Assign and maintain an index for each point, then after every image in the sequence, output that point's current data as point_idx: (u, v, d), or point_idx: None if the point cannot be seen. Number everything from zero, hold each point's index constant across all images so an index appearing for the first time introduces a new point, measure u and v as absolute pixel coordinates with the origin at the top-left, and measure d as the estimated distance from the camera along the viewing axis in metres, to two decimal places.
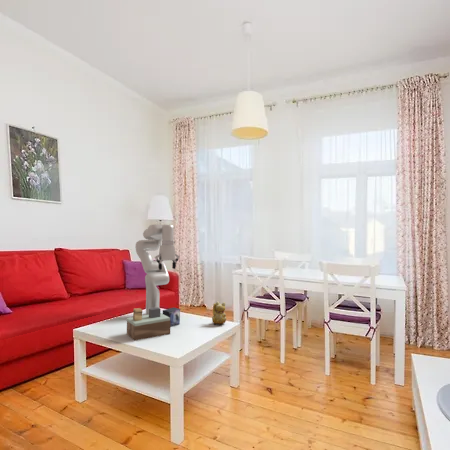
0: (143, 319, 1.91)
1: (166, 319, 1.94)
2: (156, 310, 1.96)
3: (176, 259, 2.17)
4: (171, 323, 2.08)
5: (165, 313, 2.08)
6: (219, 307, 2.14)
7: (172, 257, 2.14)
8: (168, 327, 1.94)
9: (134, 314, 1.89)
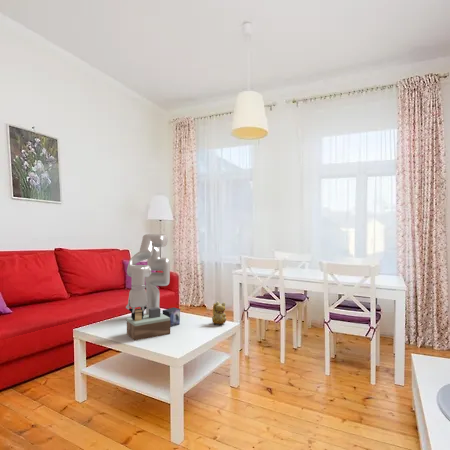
0: (143, 319, 1.91)
1: (166, 319, 1.94)
2: (156, 310, 1.96)
3: (144, 307, 1.92)
4: (171, 323, 2.08)
5: (165, 313, 2.08)
6: (219, 307, 2.14)
7: (143, 303, 1.90)
8: (168, 327, 1.94)
9: None
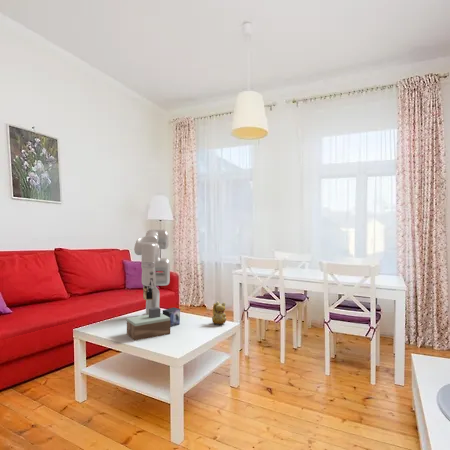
0: (143, 319, 1.91)
1: (166, 319, 1.94)
2: (156, 310, 1.96)
3: (149, 288, 1.77)
4: (171, 323, 2.08)
5: (165, 313, 2.08)
6: (219, 307, 2.14)
7: (146, 283, 1.77)
8: (168, 327, 1.94)
9: None
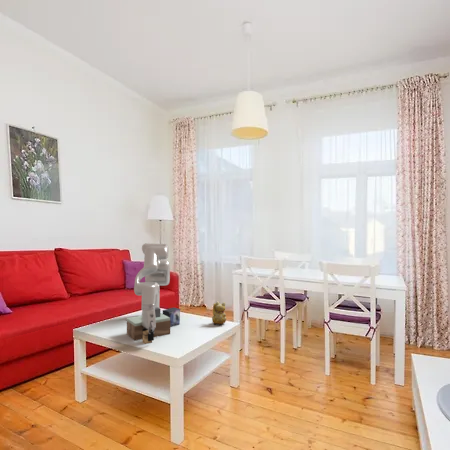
0: None
1: (166, 319, 1.94)
2: (156, 310, 1.96)
3: (150, 330, 1.74)
4: (171, 323, 2.08)
5: (165, 313, 2.08)
6: (219, 307, 2.14)
7: (146, 325, 1.76)
8: (168, 327, 1.94)
9: None
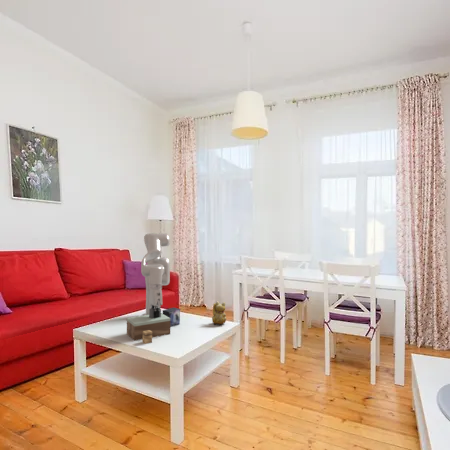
0: (143, 319, 1.91)
1: (166, 319, 1.93)
2: None
3: (156, 307, 1.93)
4: (171, 323, 2.08)
5: (165, 313, 2.08)
6: (219, 307, 2.14)
7: (153, 303, 1.93)
8: (168, 327, 1.94)
9: None
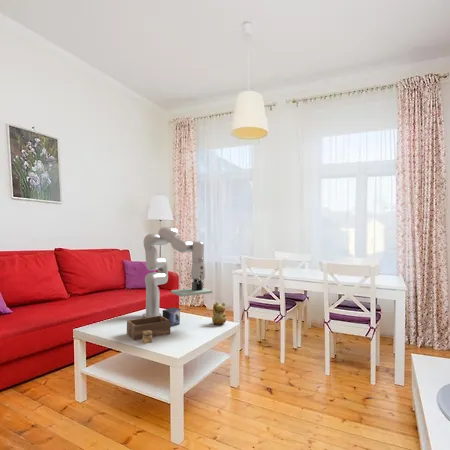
0: (187, 291, 2.01)
1: (208, 292, 2.03)
2: None
3: (199, 280, 2.03)
4: (171, 323, 2.08)
5: (165, 313, 2.08)
6: (219, 307, 2.14)
7: (196, 276, 2.03)
8: (168, 327, 1.94)
9: None
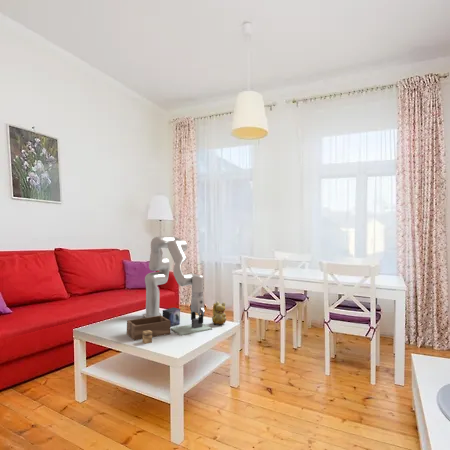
0: (187, 329, 2.01)
1: (208, 329, 2.03)
2: None
3: None
4: (171, 323, 2.08)
5: (165, 313, 2.08)
6: (219, 307, 2.14)
7: (196, 310, 2.03)
8: (168, 327, 1.94)
9: None
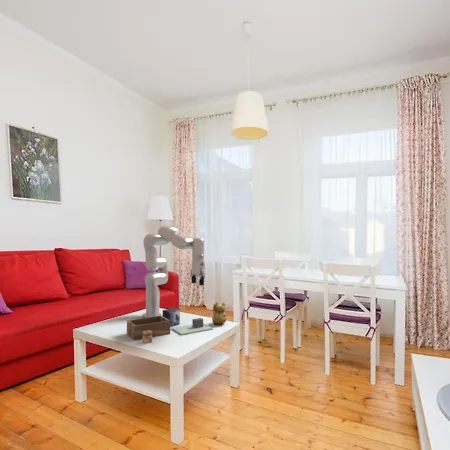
0: (188, 329, 2.01)
1: (209, 329, 2.03)
2: (199, 320, 2.05)
3: (201, 275, 2.01)
4: (171, 323, 2.08)
5: (165, 313, 2.08)
6: (219, 307, 2.14)
7: (196, 272, 2.03)
8: (168, 327, 1.94)
9: None
